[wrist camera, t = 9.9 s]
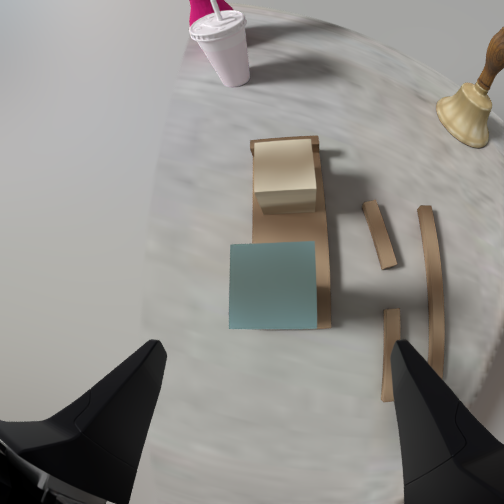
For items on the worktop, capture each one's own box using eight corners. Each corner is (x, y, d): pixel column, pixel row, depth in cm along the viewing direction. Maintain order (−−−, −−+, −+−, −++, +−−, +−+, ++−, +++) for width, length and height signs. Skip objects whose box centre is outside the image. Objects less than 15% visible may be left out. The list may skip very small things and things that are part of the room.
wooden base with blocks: (330, 327, 22) (366, 340, 8) (254, 328, 23) (183, 340, 9) (317, 149, 26) (315, 32, 12) (254, 153, 27) (215, 43, 14)
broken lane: (436, 389, 18) (441, 391, 17) (367, 400, 19) (370, 404, 18) (426, 204, 22) (429, 200, 21) (361, 204, 24) (363, 200, 23)
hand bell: (426, 94, 25) (457, -2, 10) (472, 102, 24) (510, 22, 8) (450, 145, 23) (507, 45, 8) (496, 151, 22) (554, 72, 6)
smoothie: (250, 96, 29) (219, 0, 16) (204, 92, 31) (163, 9, 17) (266, 66, 30) (245, -21, 17) (224, 64, 32) (193, -14, 19)
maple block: (315, 212, 23) (316, 188, 19) (263, 214, 24) (254, 192, 20) (310, 167, 24) (310, 138, 20) (263, 170, 25) (254, 143, 21)
